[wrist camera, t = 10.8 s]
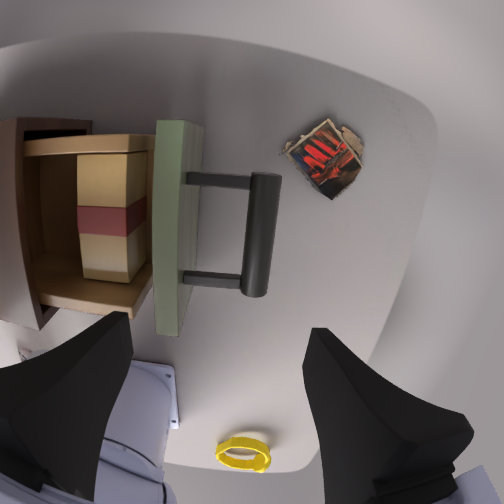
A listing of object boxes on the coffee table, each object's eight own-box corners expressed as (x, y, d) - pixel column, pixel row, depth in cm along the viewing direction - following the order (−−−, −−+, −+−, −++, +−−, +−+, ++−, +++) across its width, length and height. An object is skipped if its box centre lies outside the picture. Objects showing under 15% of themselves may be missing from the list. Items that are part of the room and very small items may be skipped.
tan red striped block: (147, 259, 19) (129, 284, 16) (105, 255, 19) (82, 278, 15) (149, 150, 17) (128, 153, 13) (103, 151, 16) (75, 154, 13)
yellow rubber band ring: (209, 443, 30) (246, 461, 31) (205, 461, 27) (244, 478, 29) (243, 426, 28) (281, 446, 29) (240, 447, 26) (281, 465, 27)
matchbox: (336, 204, 20) (338, 205, 19) (274, 160, 19) (275, 161, 18) (373, 150, 19) (376, 150, 18) (314, 104, 18) (315, 103, 17)
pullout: (275, 133, 17) (293, 129, 11) (257, 284, 21) (264, 344, 15) (41, 132, 16) (-21, 138, 10) (47, 263, 20) (-1, 303, 14)
